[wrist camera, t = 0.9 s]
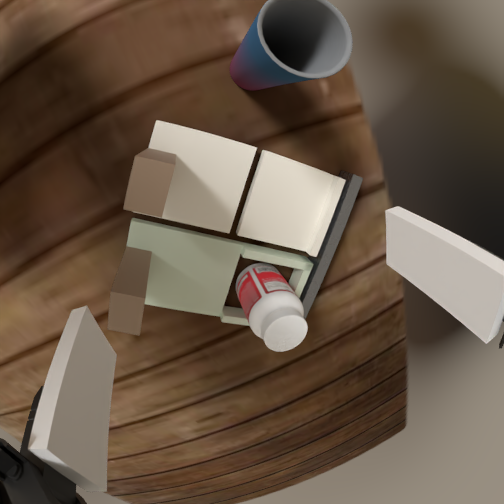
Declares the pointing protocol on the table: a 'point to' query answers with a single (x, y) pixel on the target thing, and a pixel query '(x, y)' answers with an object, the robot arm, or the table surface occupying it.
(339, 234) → the end bar
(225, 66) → the table surface
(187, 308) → the pale green stand
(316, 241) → the white strip
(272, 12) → the cup
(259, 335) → the pill bottle
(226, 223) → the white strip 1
